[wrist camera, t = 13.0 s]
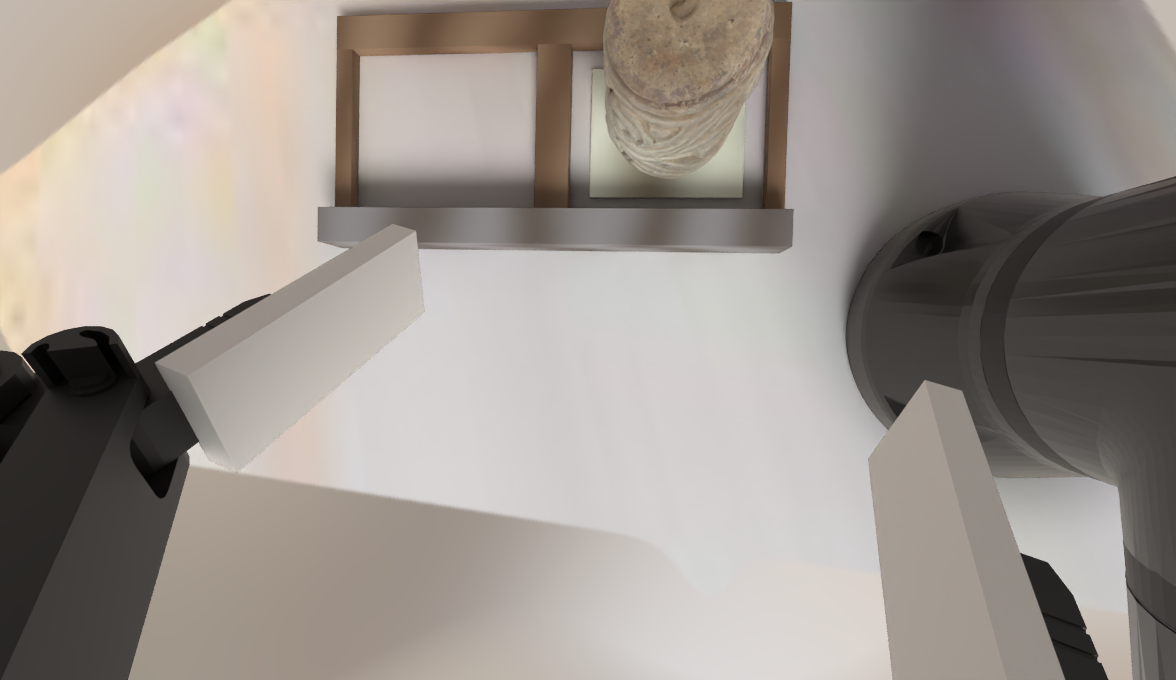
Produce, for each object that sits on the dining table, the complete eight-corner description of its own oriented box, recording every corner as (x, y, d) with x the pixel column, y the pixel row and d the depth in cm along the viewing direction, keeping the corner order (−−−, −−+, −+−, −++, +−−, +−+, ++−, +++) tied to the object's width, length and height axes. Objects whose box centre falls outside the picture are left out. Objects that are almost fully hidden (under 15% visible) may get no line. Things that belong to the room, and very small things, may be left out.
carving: (587, 150, 30) (556, 35, 18) (670, 50, 30) (694, -137, 18) (667, 218, 30) (689, 146, 18) (753, 118, 29) (835, -26, 17)
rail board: (787, 10, 29) (801, -19, 27) (778, 253, 30) (792, 246, 27) (344, 24, 32) (320, -2, 29) (342, 247, 32) (317, 241, 30)
